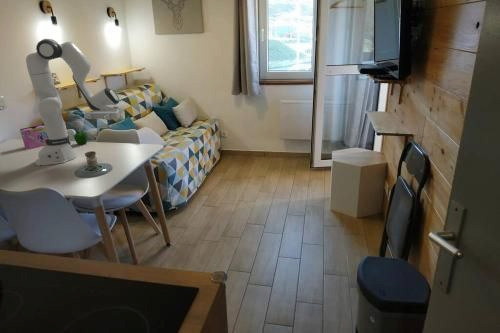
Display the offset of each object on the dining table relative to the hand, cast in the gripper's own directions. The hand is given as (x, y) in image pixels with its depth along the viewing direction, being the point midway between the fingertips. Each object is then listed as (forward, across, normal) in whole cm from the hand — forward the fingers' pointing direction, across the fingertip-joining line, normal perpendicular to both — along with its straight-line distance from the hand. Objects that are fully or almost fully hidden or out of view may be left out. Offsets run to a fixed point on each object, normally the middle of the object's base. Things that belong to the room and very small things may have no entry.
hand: (95, 117), depth 201 cm
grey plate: (+12, 0, +28) cm, 30 cm away
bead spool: (+12, 0, +27) cm, 30 cm away
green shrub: (-36, -37, +28) cm, 59 cm away
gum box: (-34, -66, +28) cm, 80 cm away
